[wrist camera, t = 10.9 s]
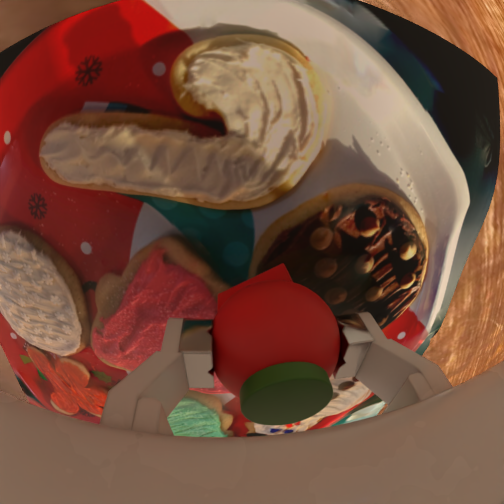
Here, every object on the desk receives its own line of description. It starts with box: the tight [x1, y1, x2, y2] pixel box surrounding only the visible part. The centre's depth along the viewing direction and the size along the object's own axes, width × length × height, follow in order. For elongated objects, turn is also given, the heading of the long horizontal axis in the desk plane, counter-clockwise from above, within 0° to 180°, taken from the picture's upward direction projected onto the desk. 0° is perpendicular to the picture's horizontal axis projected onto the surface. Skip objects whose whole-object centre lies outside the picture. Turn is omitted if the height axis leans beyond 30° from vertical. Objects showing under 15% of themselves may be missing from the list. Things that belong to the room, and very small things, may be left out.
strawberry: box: [211, 263, 340, 426], centre depth 9 cm, size 4×4×5 cm
